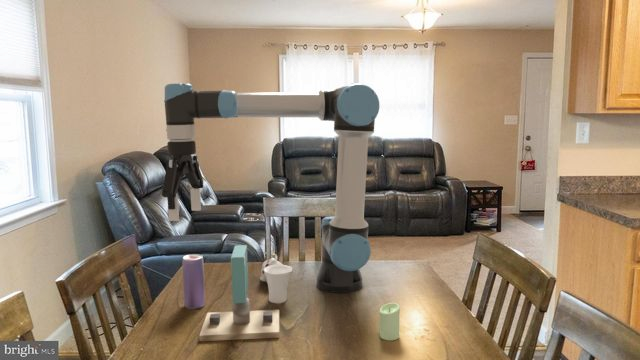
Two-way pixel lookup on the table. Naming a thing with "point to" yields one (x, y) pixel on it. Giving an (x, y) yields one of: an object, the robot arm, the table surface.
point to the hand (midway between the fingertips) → (185, 215)
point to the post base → (240, 330)
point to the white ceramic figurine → (268, 263)
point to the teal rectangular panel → (239, 274)
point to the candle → (389, 321)
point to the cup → (278, 282)
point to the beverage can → (193, 281)
